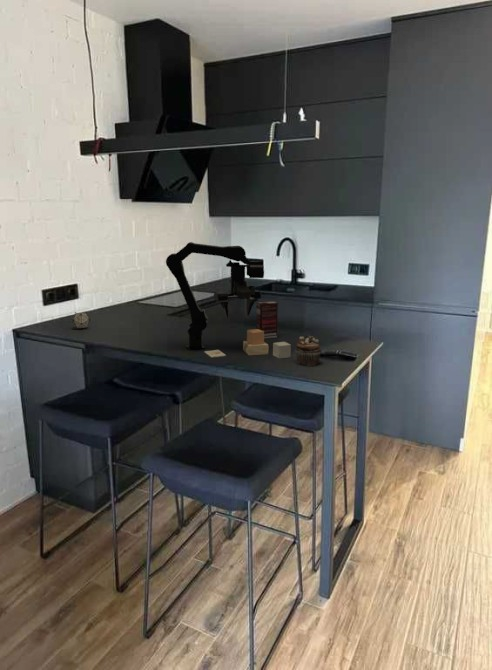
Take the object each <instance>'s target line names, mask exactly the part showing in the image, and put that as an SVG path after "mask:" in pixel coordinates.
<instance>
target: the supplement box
mask: <svg viewBox="0 0 492 670" xmlns="http://www.w3.org/2000/svg"><path fill="white" fill-rule="evenodd" d="M255 304H256V307H255V312H256V315H255V317H256V321H255V322H256V323H255V324H256V325H255V326H256V328H255V329H259V330H262V331H264V340H265V339H272V338H273V339H274V338H278V302H277V301H274V300H271V301H269V300H268V301H256V302H255Z"/></svg>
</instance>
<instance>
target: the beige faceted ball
mask: <svg viewBox="0 0 492 670" xmlns="http://www.w3.org/2000/svg"><path fill="white" fill-rule="evenodd" d="M87 312H88V311H85V312H76V311H75V312H74V314H75V315H74V317H73V319H72V320H71V322H72V323H73V324H74V326H75V327H76V329H75V330H78V329H87V330H88V329H89V328H88V326H89V323H90V322H91V318H89V316H88V314H87Z"/></svg>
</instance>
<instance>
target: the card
mask: <svg viewBox="0 0 492 670" xmlns="http://www.w3.org/2000/svg"><path fill="white" fill-rule="evenodd" d="M203 353H204V354H206V355H207V356H208V357H210V358H220V357H226V356H227V355H226V353H224V352H223V351H221V350H220V349H215V350H205V351H204V352H203Z"/></svg>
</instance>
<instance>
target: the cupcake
mask: <svg viewBox="0 0 492 670" xmlns="http://www.w3.org/2000/svg"><path fill="white" fill-rule="evenodd" d="M317 338H318V337H317V336H313V335H311V334H308V335H301V336H299V338H298V339H299V340H298V341H297V343H296V347H295V355H296V356H295V358H296V363H297V364H299V365H302V366H311V367H312V366H316V365H318V364H319V360H320V358H321V357H320V356H321V353H322V349H321V346H320V343H319V339H317Z"/></svg>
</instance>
